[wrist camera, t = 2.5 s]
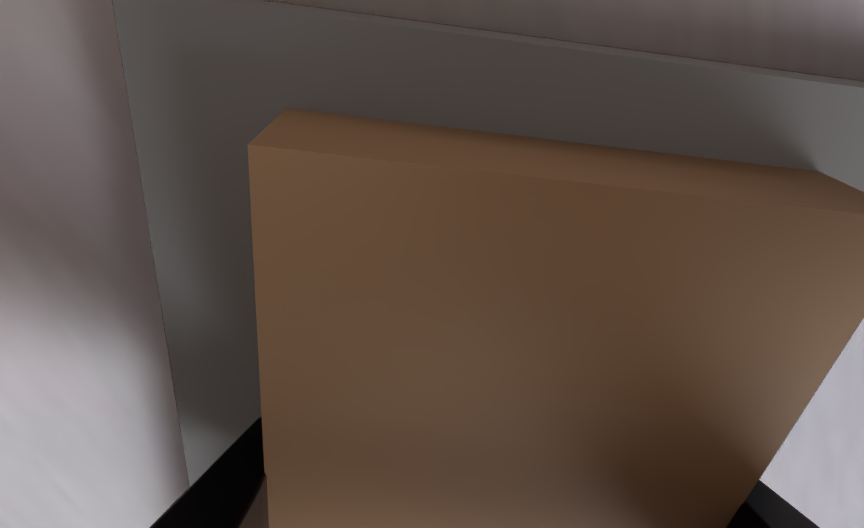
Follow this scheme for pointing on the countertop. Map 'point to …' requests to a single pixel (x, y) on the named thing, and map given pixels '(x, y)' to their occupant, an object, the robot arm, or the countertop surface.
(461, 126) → the trivet
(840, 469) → the countertop surface
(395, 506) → the walnut board
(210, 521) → the robot arm
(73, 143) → the countertop surface
